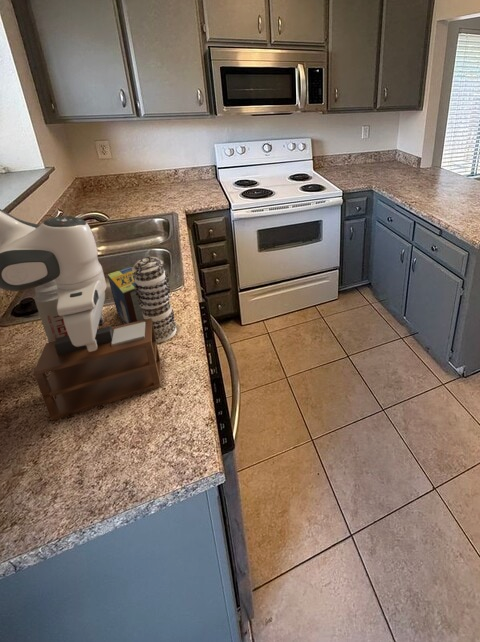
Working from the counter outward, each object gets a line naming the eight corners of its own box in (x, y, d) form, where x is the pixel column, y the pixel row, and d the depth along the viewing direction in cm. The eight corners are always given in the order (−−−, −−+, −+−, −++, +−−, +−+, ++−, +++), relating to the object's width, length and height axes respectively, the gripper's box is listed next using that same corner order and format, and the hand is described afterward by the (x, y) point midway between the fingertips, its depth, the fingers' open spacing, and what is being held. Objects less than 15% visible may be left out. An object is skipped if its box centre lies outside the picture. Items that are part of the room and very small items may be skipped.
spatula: (55, 360, 79) (51, 349, 78) (62, 343, 85) (58, 333, 84) (144, 338, 86) (142, 327, 85) (145, 323, 91) (143, 313, 90)
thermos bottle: (90, 367, 96) (63, 276, 87) (54, 377, 93) (22, 284, 84) (94, 348, 103) (69, 262, 94) (61, 357, 100) (32, 269, 91)
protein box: (149, 301, 125) (141, 262, 119) (167, 321, 114) (159, 279, 109) (116, 315, 118) (106, 274, 113) (133, 337, 108) (122, 292, 102)
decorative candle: (182, 334, 108) (168, 261, 100) (149, 348, 103) (132, 272, 94) (173, 320, 115) (160, 250, 107) (142, 331, 110) (126, 259, 101)
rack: (51, 420, 81) (33, 372, 76) (61, 388, 90) (45, 343, 85) (160, 386, 90) (150, 341, 85) (160, 360, 98) (151, 317, 94)
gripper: (75, 267, 88) (88, 315, 92) (54, 314, 70) (72, 369, 75) (104, 262, 90) (116, 309, 95) (91, 306, 72) (106, 360, 77)
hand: (96, 336), depth 84 cm, fingers open, 8 cm apart
